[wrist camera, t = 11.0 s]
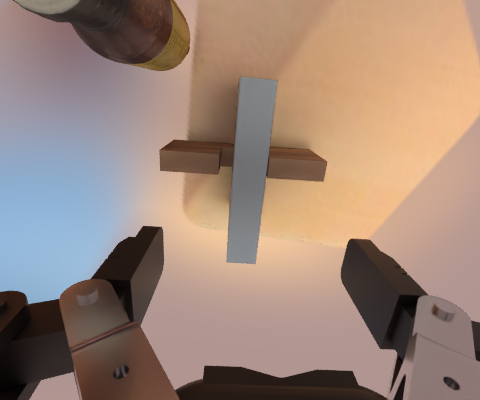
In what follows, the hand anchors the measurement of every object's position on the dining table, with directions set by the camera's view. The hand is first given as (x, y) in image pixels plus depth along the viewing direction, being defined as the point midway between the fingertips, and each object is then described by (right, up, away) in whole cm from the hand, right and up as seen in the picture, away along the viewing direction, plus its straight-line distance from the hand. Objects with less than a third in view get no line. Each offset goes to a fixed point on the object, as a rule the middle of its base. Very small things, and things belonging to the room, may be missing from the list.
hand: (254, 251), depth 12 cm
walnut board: (0, +8, +20) cm, 22 cm away
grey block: (0, +8, +20) cm, 22 cm away
